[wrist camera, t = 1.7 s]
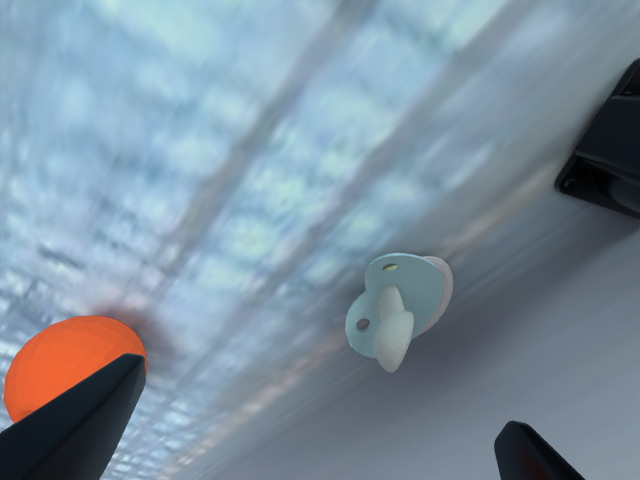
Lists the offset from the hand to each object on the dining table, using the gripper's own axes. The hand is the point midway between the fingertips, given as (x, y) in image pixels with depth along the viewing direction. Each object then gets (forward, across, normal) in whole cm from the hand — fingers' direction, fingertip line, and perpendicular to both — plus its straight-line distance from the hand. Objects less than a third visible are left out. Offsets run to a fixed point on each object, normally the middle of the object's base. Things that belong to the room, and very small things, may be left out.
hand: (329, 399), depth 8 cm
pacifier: (+12, -5, +4) cm, 14 cm away
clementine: (+12, +13, +12) cm, 21 cm away
